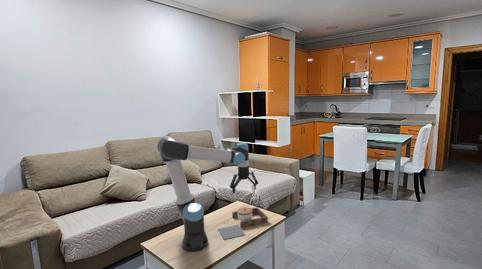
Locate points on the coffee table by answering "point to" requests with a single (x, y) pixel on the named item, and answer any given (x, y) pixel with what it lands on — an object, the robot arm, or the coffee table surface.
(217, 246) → the coffee table surface
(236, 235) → the grey mat
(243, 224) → the walnut holder
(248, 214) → the lidded jar
